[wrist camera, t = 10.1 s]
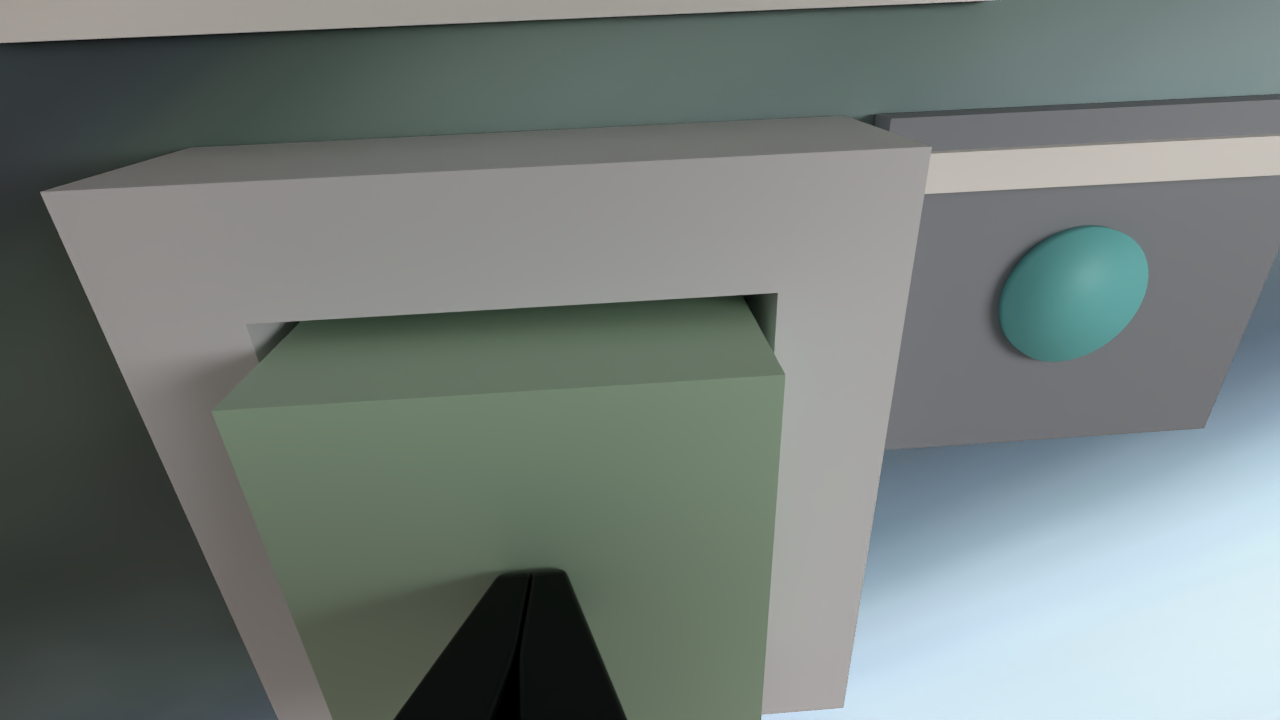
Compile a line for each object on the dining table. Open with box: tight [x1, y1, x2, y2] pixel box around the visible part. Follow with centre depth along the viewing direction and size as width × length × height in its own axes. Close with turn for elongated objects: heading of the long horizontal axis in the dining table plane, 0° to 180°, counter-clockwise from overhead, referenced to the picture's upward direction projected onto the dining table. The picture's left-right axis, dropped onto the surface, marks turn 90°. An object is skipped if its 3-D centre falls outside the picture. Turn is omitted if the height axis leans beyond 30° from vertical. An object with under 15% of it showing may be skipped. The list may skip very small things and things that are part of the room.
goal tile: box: [874, 94, 1280, 450], centre depth 11 cm, size 7×6×1 cm
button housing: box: [40, 116, 932, 720], centre depth 11 cm, size 10×10×3 cm
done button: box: [211, 295, 785, 720], centre depth 10 cm, size 6×6×4 cm
